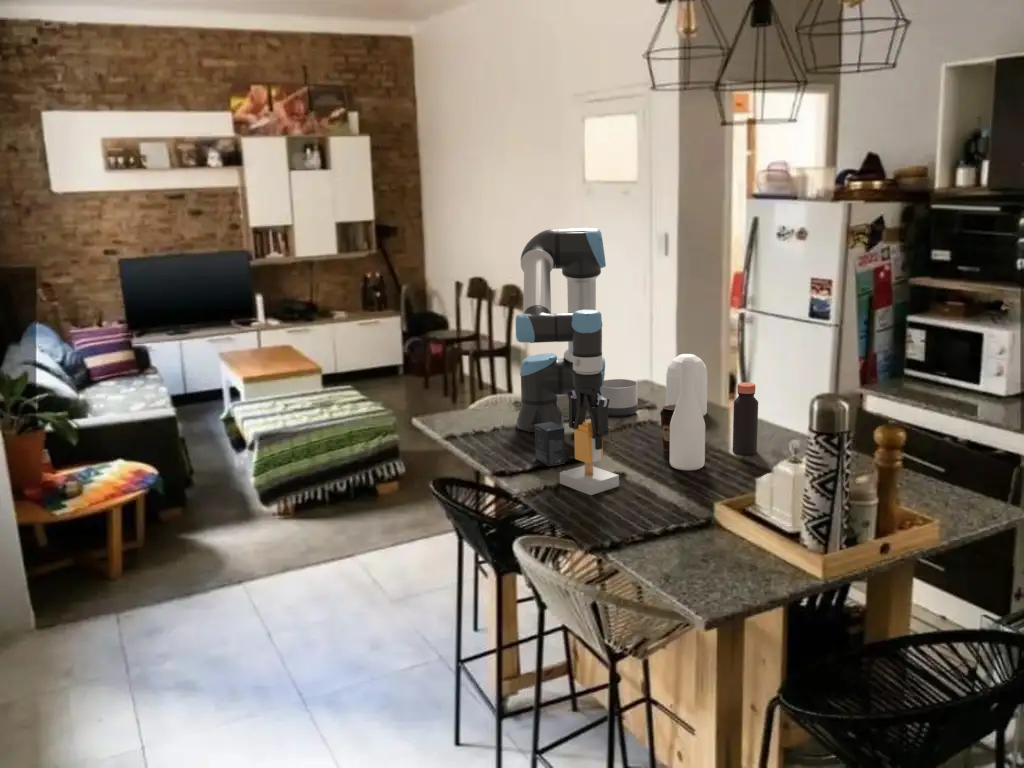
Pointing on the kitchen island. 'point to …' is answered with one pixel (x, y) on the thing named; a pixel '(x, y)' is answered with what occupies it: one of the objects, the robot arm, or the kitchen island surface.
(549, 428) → the box
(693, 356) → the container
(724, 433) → the kitchen island surface
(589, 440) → the orange stepped block
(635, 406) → the planter
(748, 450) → the vinegar
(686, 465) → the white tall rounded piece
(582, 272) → the robot arm
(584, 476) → the base with peg
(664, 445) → the coffee cup
